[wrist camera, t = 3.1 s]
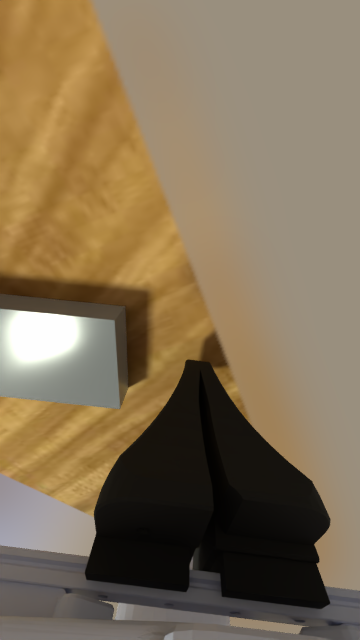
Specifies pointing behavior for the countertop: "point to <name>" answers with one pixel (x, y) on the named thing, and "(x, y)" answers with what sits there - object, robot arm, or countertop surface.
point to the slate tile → (63, 351)
